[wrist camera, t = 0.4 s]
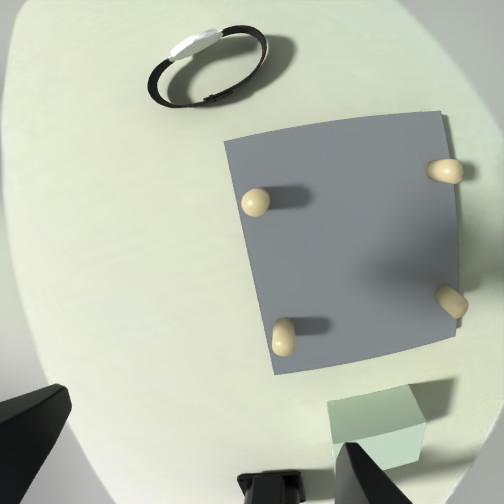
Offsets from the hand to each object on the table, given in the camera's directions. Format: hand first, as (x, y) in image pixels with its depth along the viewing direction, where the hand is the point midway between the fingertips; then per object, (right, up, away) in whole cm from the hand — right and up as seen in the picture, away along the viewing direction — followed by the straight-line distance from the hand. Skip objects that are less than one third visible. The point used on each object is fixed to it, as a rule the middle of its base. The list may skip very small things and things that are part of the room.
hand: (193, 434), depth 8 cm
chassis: (+9, +6, +12) cm, 16 cm away
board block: (+12, -8, +15) cm, 21 cm away
